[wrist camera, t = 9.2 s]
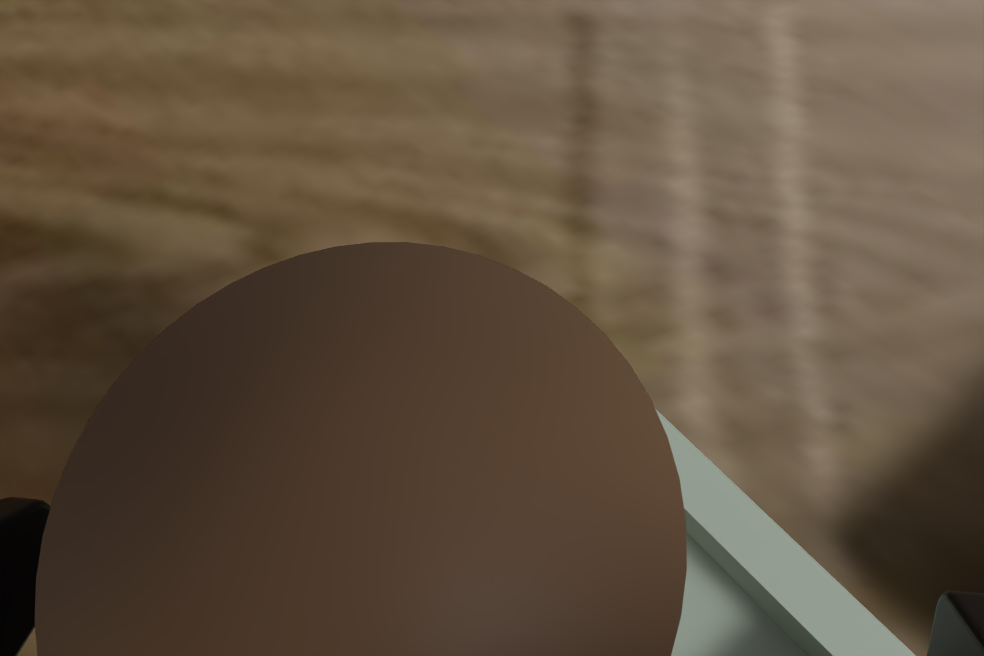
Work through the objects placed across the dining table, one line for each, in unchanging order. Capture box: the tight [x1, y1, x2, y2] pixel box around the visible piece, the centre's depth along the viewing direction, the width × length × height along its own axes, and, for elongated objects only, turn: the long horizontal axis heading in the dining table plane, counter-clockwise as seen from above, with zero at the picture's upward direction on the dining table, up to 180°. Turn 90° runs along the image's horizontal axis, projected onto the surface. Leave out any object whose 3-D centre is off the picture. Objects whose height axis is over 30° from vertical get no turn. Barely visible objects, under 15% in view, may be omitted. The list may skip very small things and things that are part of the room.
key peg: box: [35, 242, 687, 656], centre depth 11 cm, size 4×4×13 cm
